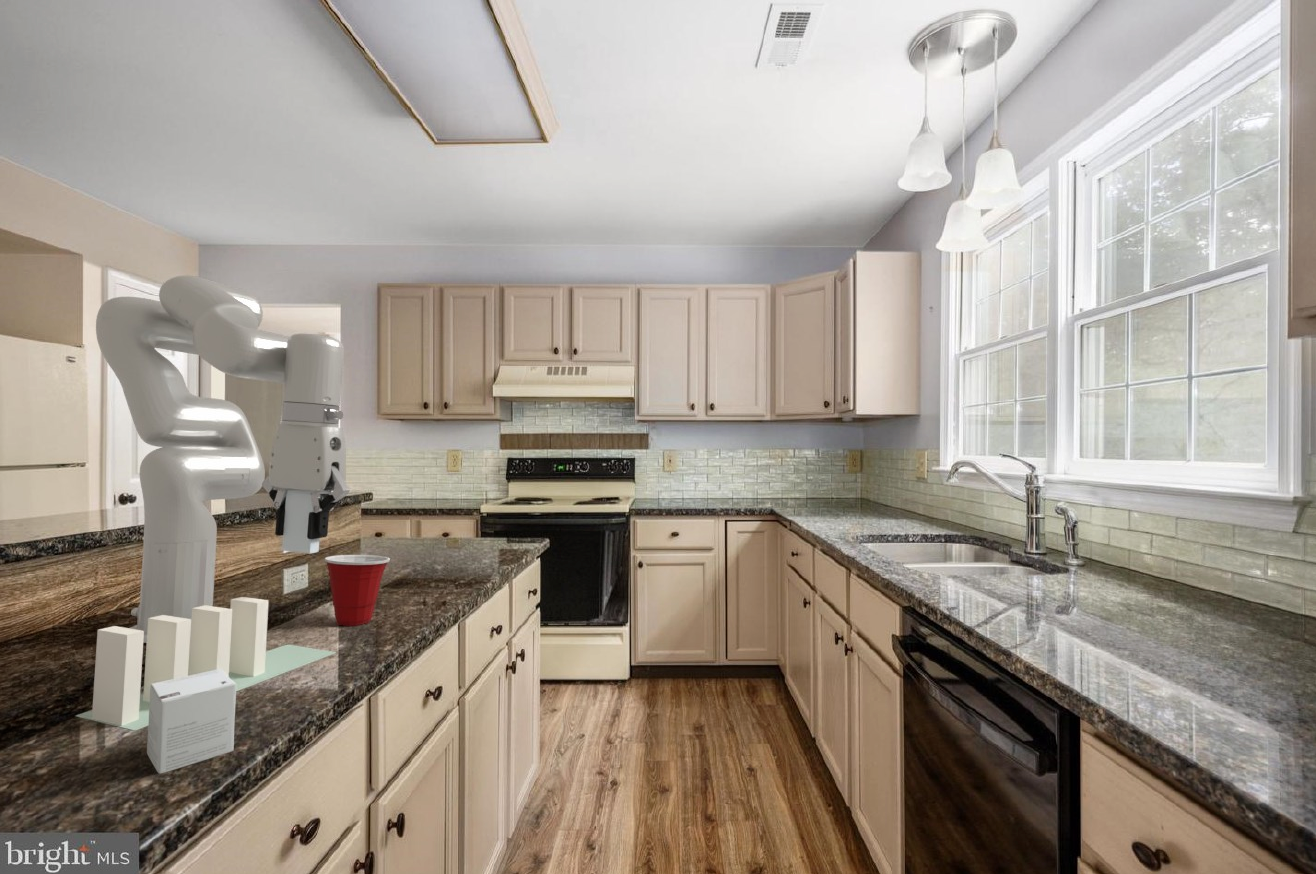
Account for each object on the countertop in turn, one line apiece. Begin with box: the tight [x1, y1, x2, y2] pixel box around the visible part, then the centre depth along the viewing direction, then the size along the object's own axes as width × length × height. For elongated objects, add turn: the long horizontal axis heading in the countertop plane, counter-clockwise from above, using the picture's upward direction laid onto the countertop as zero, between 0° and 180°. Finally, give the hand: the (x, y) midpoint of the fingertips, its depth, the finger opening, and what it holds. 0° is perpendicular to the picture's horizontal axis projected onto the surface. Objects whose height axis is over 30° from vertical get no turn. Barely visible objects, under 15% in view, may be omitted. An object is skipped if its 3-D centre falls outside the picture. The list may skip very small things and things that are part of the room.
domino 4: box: [229, 596, 270, 677], centre depth 78 cm, size 5×2×10 cm, turn 73°
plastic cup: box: [324, 554, 391, 627], centre depth 104 cm, size 11×11×12 cm
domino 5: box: [281, 490, 323, 555], centre depth 85 cm, size 5×2×10 cm, turn 78°
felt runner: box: [75, 644, 337, 732], centre depth 76 cm, size 10×26×1 cm, turn 163°
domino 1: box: [91, 625, 144, 726], centre depth 64 cm, size 5×2×10 cm, turn 73°
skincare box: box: [146, 669, 237, 775], centre depth 58 cm, size 6×6×7 cm
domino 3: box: [188, 605, 232, 677], centre depth 74 cm, size 5×2×10 cm, turn 73°
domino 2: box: [143, 615, 191, 702], centre depth 69 cm, size 5×2×10 cm, turn 73°
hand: (301, 535), depth 85 cm, fingers closed on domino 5, 4 cm apart
